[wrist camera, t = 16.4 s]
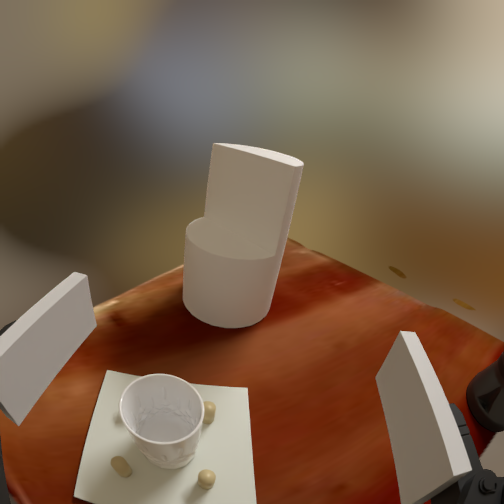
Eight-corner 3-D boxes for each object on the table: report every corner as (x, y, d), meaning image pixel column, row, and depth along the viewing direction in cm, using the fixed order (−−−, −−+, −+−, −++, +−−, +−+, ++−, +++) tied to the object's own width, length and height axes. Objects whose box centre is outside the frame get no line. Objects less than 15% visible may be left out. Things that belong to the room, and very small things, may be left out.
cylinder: (227, 265, 66) (246, 143, 54) (286, 303, 57) (323, 166, 44) (165, 290, 54) (171, 144, 41) (225, 342, 45) (254, 168, 32)
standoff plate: (256, 524, 19) (263, 521, 18) (76, 497, 17) (63, 490, 15) (246, 391, 37) (250, 375, 35) (108, 373, 34) (103, 356, 32)
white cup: (199, 419, 31) (202, 375, 26) (204, 475, 24) (207, 446, 19) (137, 415, 29) (124, 369, 24) (134, 470, 22) (114, 438, 18)
